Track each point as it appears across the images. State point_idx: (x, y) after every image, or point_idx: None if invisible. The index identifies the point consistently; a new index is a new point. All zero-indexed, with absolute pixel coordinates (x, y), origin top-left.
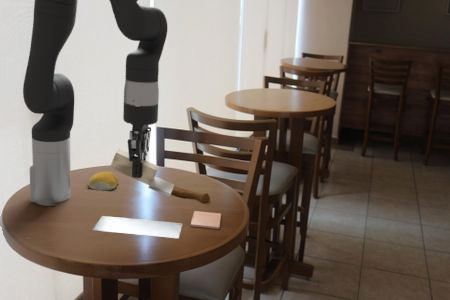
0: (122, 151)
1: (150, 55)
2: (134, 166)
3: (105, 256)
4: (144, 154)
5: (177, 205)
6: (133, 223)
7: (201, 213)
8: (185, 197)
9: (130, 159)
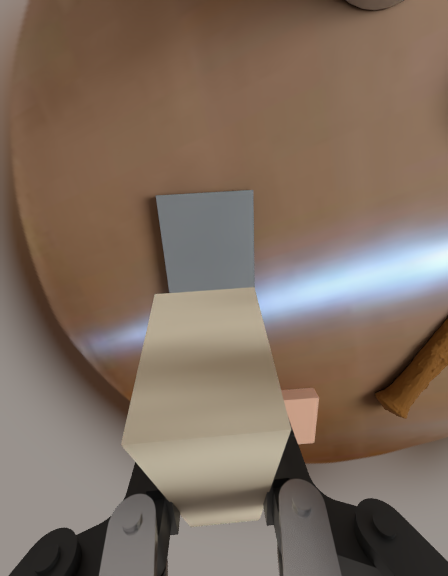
0: (248, 452)
1: None
2: (133, 479)
3: (67, 268)
4: (278, 552)
5: (369, 346)
6: (227, 287)
7: (308, 411)
8: (417, 355)
9: (21, 570)
